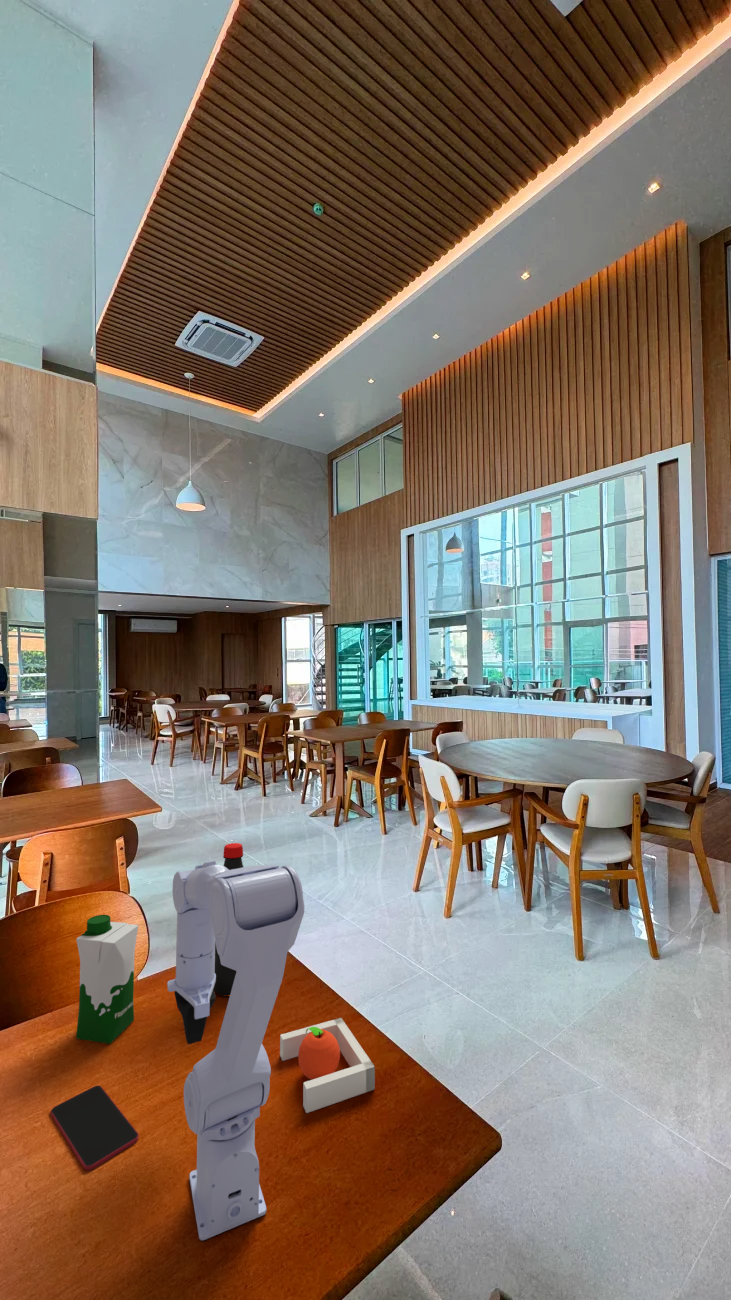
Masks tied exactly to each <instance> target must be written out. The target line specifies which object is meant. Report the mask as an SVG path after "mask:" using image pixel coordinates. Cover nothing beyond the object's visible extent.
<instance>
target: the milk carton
mask: <svg viewBox="0 0 731 1300" xmlns="http://www.w3.org/2000/svg"><path fill="white" fill-rule="evenodd" d="M138 931H139V924H131V923H130V924H129V923H127V922H120V921H119V922H118V921H111V916H110V915H108V914H98V915H94V916H92V917H90V918H88V919H87V921H86V930H85V931H84V933H82V934H81V935H80V936H78V937H77V938H76V939H75V940H76V945H77V949H78V955H79V962H80V963H79V965H80V966H79V995H78V996H79V998H78V1013H77V1023H76V1034H75V1039H76V1040H82V1041H83V1040H84V1041H88V1042H95V1043H101V1044H108V1045H111V1044H112V1043H113V1042H114V1041H115V1040H116V1039H117V1038H118V1037H119V1036H120V1035H122V1033H123V1032H124V1031H125V1030H126V1029H127V1028H128V1027H129V1026H130V1025H131V1024H132V1023H133V1022H134V1021H135V1016H134V1015H135V1013H134V1012H135V1009H134V991H135V990H134V987H135V984H134V983H135V952H136V951H135V950H136V944H137V937H138V936H137V935H138V933H139V932H138Z"/></svg>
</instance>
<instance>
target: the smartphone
mask: <svg viewBox="0 0 731 1300" xmlns="http://www.w3.org/2000/svg"><path fill="white" fill-rule="evenodd" d="M50 1116H51V1118H52V1119H53V1121H54V1122H55V1124H56V1126H57V1128H58V1129H59V1130H60V1132H61V1134H62V1135H63V1137H64V1139H65V1140H66V1142H67V1144H68V1146H69V1147H70V1149H71V1150H72V1152H73V1153H74V1155H75V1156H76V1159H78V1161H79V1163H80V1164H81V1166H82V1167H83V1169H84V1170H85V1171H86V1172H89V1171H92V1170H93V1169H94V1170H95V1168H97V1167H99V1166H100V1165H102V1164H103V1163H105V1162H107V1161H108V1160H110V1159H111V1158H113V1157H115V1156H117V1155H118V1154H120V1153H122V1152H123V1151H125V1150H127V1149H128V1148H130V1147H131V1146H133V1145H134V1144H136V1143H137V1142H138V1140H139V1137H140V1135H139V1132H138V1131H137V1130H136V1129H135V1128H134V1126H133V1125H132V1123H131V1122H130V1121H129V1120H128V1118H127V1117H126V1116H125V1115H124V1114H123V1112H122V1111H121V1109H120V1108H119V1107H118V1106H117V1104H115V1102H114V1101H113V1099H111V1097H110V1096H109V1095H108V1093H107V1092H106V1090H104V1088H103V1087H102V1086H101V1085H94V1086H92V1087H90V1088H88V1089H87V1090H85V1091H81V1093H79V1094H76V1095H75V1096H73V1097H70V1098H68V1099H67V1100H65V1101H63V1102H61V1103H59V1104H57V1105H55V1106H54V1107H52V1109H51V1110H50Z"/></svg>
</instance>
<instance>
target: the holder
mask: <svg viewBox="0 0 731 1300" xmlns="http://www.w3.org/2000/svg"><path fill="white" fill-rule="evenodd" d="M310 1027H317V1028H319V1029H323V1030H326V1031H328V1032H330V1033H331V1034H332V1035H333V1036H334V1037H335V1038H336V1039H337V1042H338V1044H339V1048H340V1054H341V1055H342V1056H343V1057H344V1059H345V1061H346V1062H347V1064H348V1066H349V1067H348V1068H344V1069H341V1070H338V1071H335V1072H334V1073H331V1074H328V1075H325V1076H322V1077H319V1078H316V1079H313V1080H311V1079H309V1080H306V1081H304V1082H302V1083H303V1085H302V1086H303V1088H302V1089H303V1091H302V1094H303V1095H302V1097H303V1098H302V1100H303V1102H302V1103H303V1104H302V1107H303V1109H304V1111H305V1113H306V1114H309V1113H310V1112H314V1111H317V1110H319V1109H322V1108H325V1107H328V1106H331V1105H335V1104H336V1103H340V1102H343V1101H345V1100H348V1099H351V1098H353V1097H357V1096H360V1095H362V1094H365V1093H368V1092H371V1091H374V1090H376V1089H375V1087H376V1086H375V1084H376V1077H375V1076H376V1074H375V1073H376V1071H375V1070H376V1067H375V1065H374V1063H373V1061H371V1059H370V1057H369V1056H368V1055H367V1053H366V1052H365V1050H364V1049H363V1047H362V1046H361V1044H360V1043H359V1042H358V1040H357V1038H356V1037H355V1035H354V1034H353V1032H352V1031H351V1030H350V1028H349V1027H348V1025H347V1024H346V1023H345V1021H344V1020H343V1018H342V1017H339V1018H335V1019H332V1020H328V1021H324V1022H321V1023H318V1024H313V1025H310V1026H306V1027H304V1028H300V1029H296V1030H292V1031H289V1032H286V1033H281V1034H280V1037H279V1038H280V1039H279V1040H280V1041H279V1043H280V1045H279V1056H280V1058H281V1061H282V1062H284V1061H286V1060H291V1059H293V1058H298V1054H299V1048H300V1045H301V1043H302V1041H303V1039H304V1038H305V1037H306V1035H308V1034H309V1033H310V1032H312V1031H311V1030H310V1029H308V1028H310ZM307 1029H308V1030H307ZM306 1030H307V1033H306Z"/></svg>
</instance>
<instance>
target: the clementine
mask: <svg viewBox="0 0 731 1300" xmlns="http://www.w3.org/2000/svg"><path fill="white" fill-rule="evenodd" d="M309 1027H310V1026H309ZM308 1029H310V1030H311V1031H312V1032H310V1033H309V1034H308V1035H306V1037H305V1038H304V1039H303V1041H302V1043H301V1045H300V1048H299V1054H298V1056H297V1058H298V1065H299V1067H300V1070H301V1072H302V1074H303V1075H304V1076H305V1077H306V1078H307V1079H309V1080H313V1079H316V1078H319V1077H322V1076H325V1075H328V1074H331V1073H334V1072H337V1071H336V1070H337V1068H338V1066H339V1063H340V1059H341V1051H340V1048H339V1044H338V1042H337V1039H336V1038H335V1037H334V1036H333V1035H332V1034H331V1033H330V1032H328V1031H326V1030H323V1029H319V1028H317V1027H310V1028H308ZM308 1029H307V1030H308ZM307 1030H306V1033H307Z"/></svg>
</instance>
